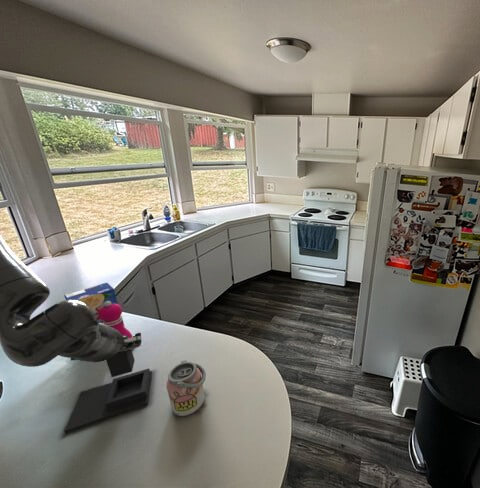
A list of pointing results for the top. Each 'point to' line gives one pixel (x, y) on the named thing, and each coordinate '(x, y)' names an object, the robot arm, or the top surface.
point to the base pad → (110, 400)
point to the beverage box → (95, 297)
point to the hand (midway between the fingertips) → (120, 349)
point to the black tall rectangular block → (121, 363)
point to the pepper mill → (113, 317)
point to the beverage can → (186, 387)
